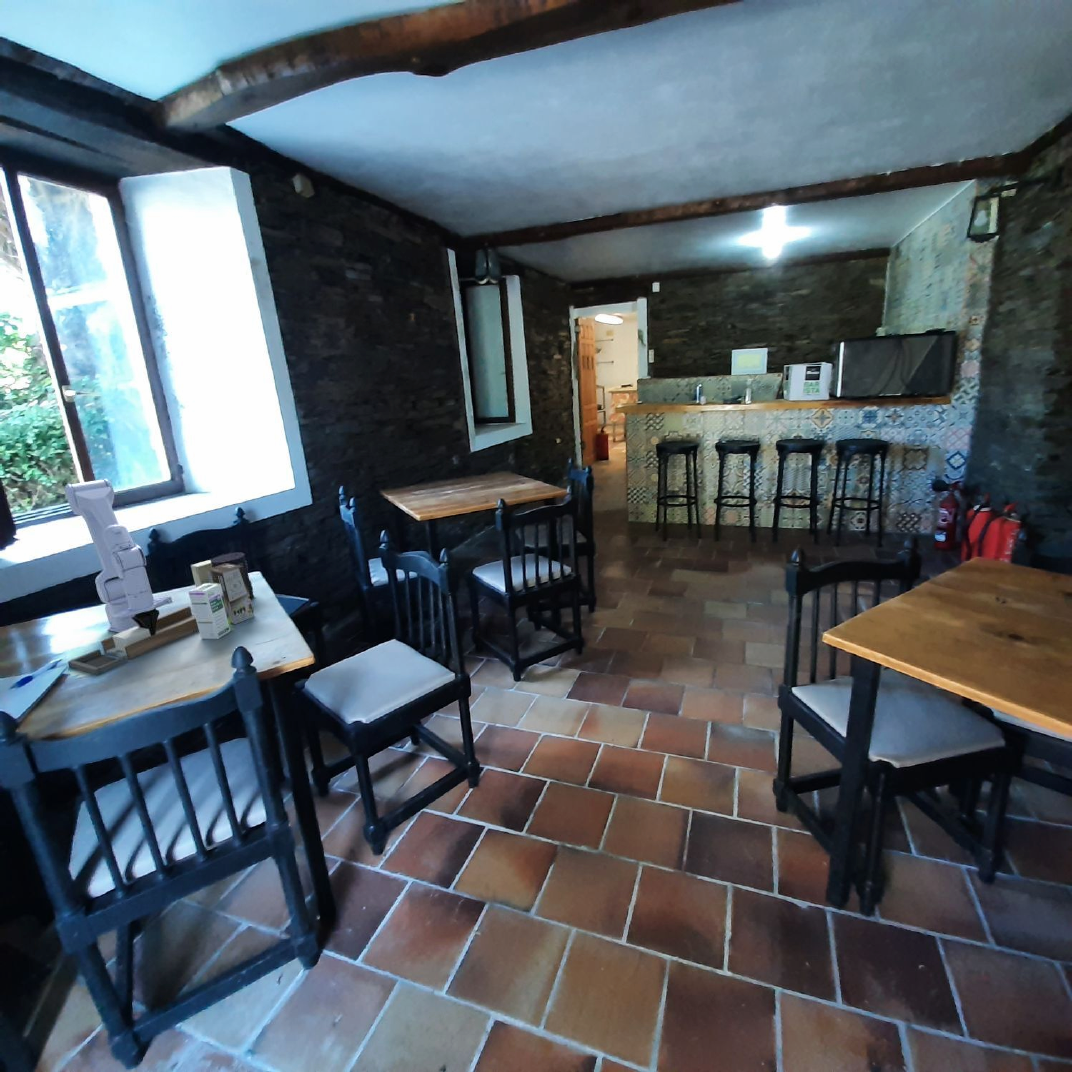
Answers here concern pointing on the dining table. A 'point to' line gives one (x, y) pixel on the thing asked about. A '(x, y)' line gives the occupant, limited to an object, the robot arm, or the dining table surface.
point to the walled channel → (157, 634)
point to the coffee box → (233, 590)
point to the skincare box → (201, 572)
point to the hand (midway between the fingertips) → (151, 636)
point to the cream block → (130, 637)
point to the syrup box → (210, 611)
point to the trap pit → (96, 662)
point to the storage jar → (236, 560)
